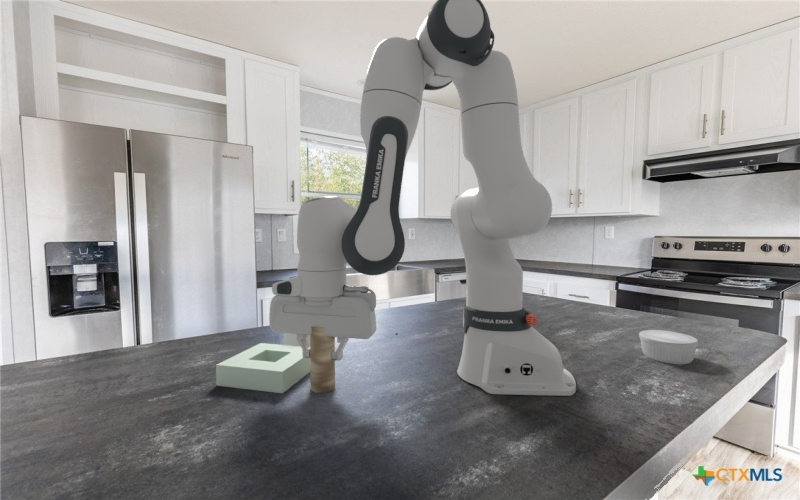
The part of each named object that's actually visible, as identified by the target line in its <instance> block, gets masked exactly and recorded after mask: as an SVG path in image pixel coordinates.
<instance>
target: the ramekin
mask: <svg viewBox="0 0 800 500" xmlns="http://www.w3.org/2000/svg"><path fill="white" fill-rule="evenodd" d="M638 333H639V334H638V337H639V339H640V345H641V351H642V354H643V355H644V356H645V357H646V358H649V359H650V360H652V361H653V360H654V361H657V362H661V363H665V364H670V365H671V364H672V365H688V364H690V363H692V362H693V360H694V359H695V355H696V351H697V346H698V345H699V340H698V339H697V338H696V337H693V336H692V335H688V334H685V333H681V332H675V331H669V330H663V329H662V330H661V329H647V330H646V329H645V330H642V331H640V332H638Z"/></svg>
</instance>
